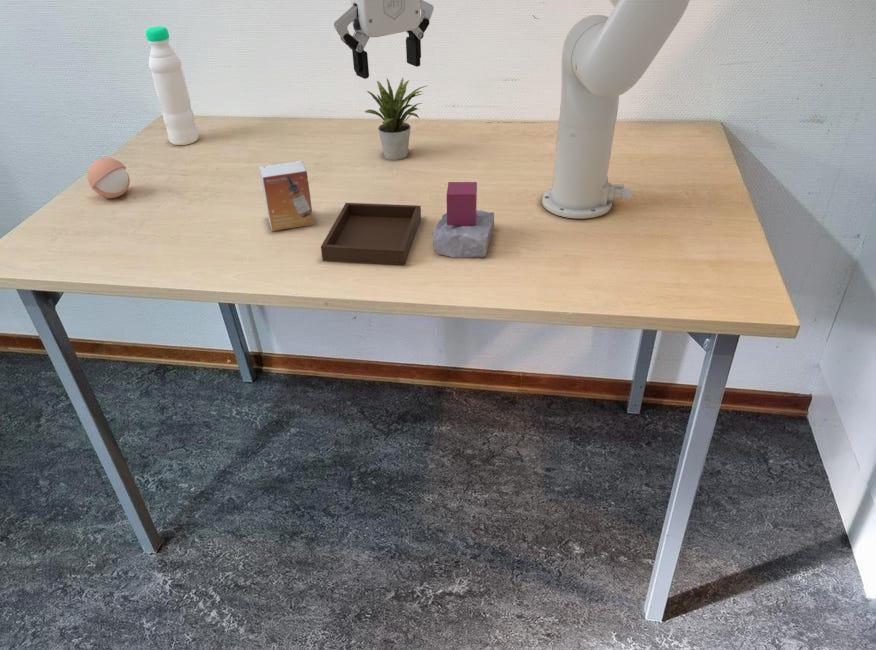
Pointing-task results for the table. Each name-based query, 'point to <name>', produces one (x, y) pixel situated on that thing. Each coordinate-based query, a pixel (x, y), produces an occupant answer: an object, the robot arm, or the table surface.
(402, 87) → the house plant
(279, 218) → the small box
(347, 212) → the tray
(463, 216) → the pink block
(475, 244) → the stone block
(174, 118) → the water bottle
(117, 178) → the toy ball
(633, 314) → the table surface
